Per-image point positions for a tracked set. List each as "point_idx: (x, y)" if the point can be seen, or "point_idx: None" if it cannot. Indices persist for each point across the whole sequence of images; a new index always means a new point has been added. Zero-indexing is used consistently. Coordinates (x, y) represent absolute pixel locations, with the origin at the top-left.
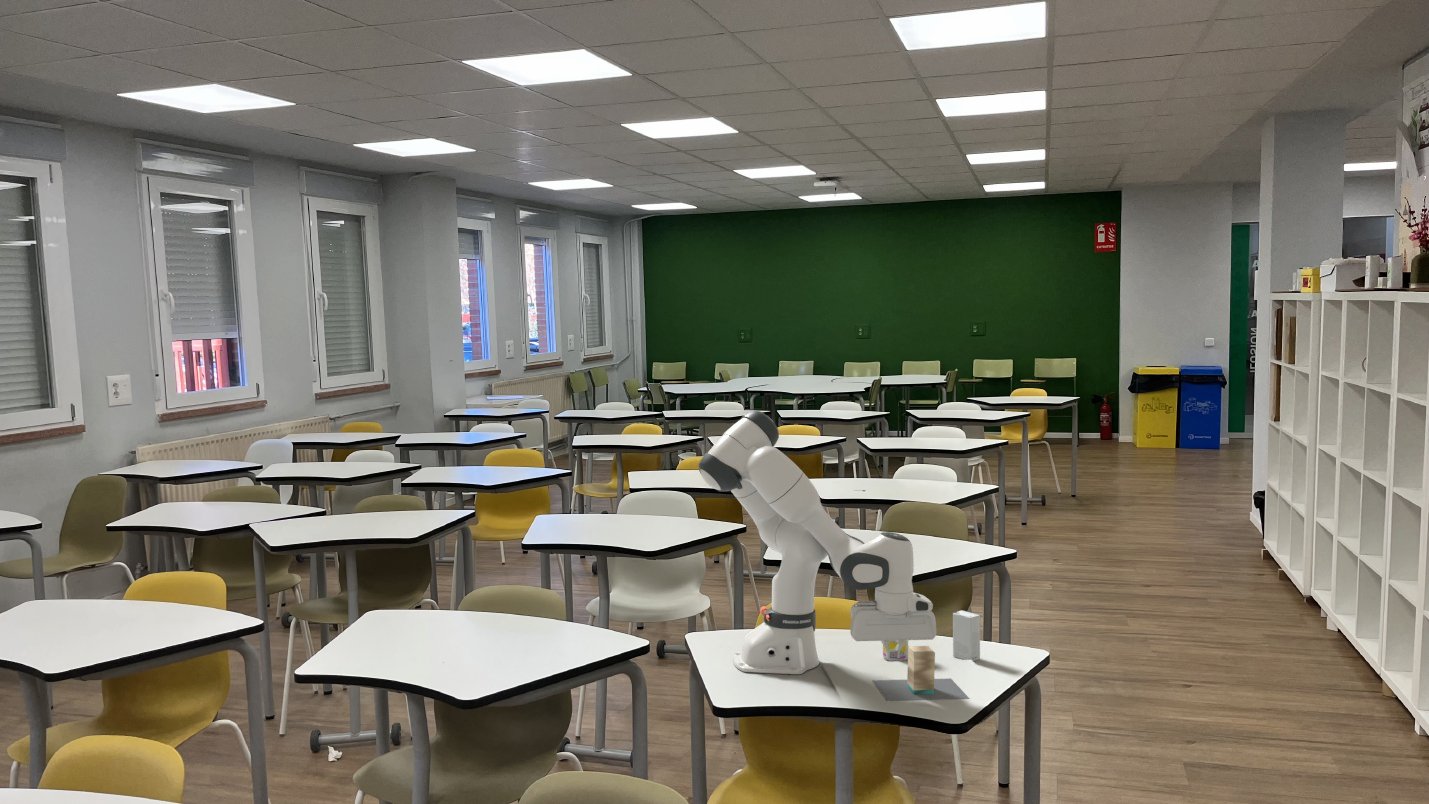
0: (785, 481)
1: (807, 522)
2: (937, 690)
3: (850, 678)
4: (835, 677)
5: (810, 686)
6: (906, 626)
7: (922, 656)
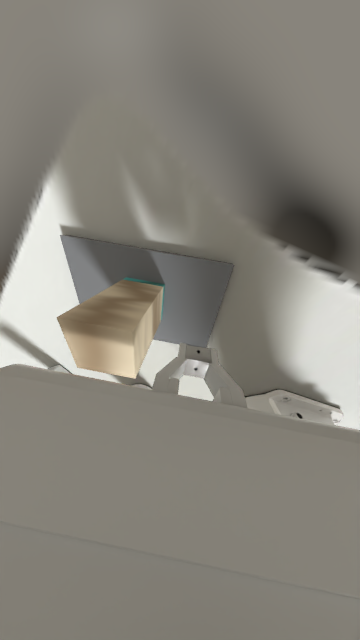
0: None
1: None
2: None
3: (222, 366)
4: (239, 373)
5: (297, 360)
6: (106, 506)
7: (109, 318)
